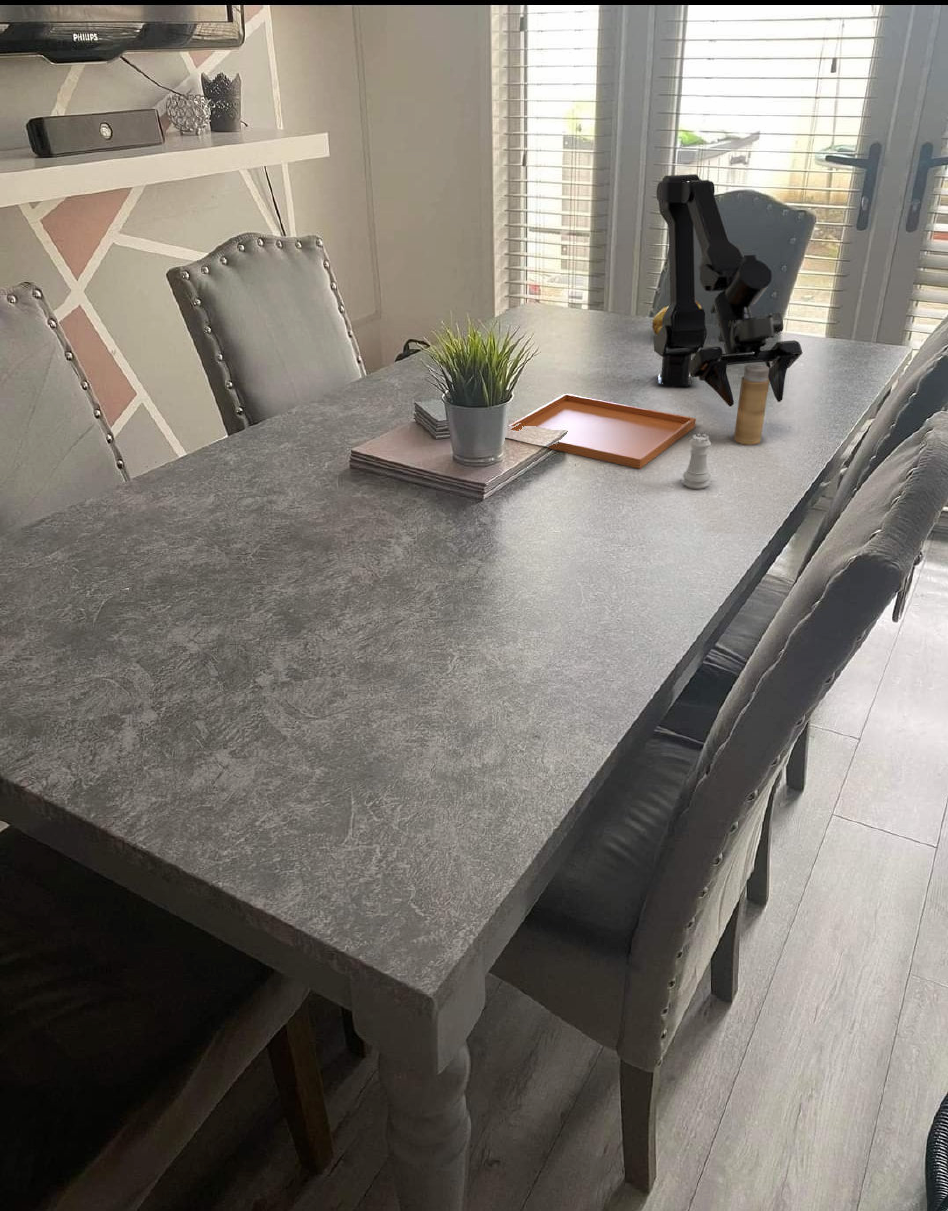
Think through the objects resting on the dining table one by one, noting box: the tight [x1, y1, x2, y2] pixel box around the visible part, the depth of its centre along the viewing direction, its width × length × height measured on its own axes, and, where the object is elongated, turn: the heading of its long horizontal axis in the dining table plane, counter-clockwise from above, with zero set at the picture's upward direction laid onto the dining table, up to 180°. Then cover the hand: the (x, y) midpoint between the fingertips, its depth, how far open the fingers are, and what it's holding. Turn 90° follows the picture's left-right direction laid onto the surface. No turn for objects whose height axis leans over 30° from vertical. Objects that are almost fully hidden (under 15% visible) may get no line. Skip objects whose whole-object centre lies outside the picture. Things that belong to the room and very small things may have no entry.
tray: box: [509, 393, 697, 470], centre depth 174 cm, size 23×27×2 cm
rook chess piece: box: [681, 433, 712, 490], centre depth 151 cm, size 4×4×8 cm
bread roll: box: [651, 300, 702, 336], centre depth 224 cm, size 13×10×8 cm
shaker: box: [733, 363, 770, 446], centre depth 166 cm, size 5×5×13 cm
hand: (756, 403), depth 165 cm, fingers open, 9 cm apart
